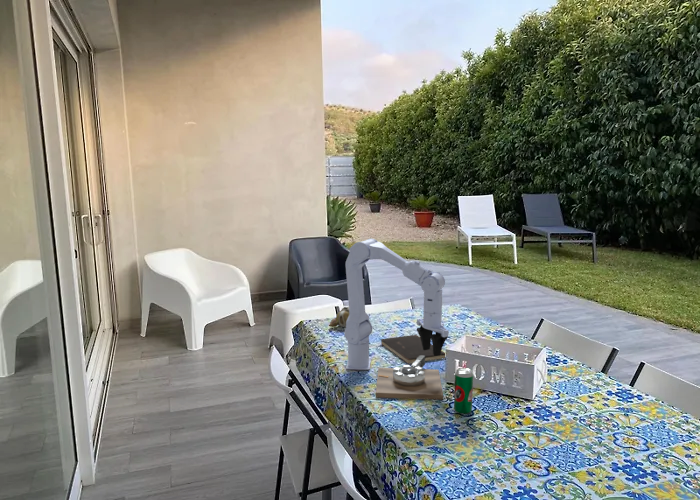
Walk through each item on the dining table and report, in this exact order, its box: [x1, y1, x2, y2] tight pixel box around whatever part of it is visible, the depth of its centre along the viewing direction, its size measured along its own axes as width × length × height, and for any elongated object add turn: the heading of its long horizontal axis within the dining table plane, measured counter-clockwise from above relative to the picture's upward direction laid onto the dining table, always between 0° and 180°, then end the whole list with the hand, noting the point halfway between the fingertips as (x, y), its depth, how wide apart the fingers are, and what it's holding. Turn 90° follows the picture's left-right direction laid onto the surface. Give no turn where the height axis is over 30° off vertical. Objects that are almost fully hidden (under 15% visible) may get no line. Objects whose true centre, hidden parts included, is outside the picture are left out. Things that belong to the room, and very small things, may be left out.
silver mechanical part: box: [393, 355, 426, 386], centre depth 181 cm, size 19×10×4 cm, turn 155°
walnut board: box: [375, 367, 444, 401], centre depth 177 cm, size 20×20×2 cm
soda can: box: [453, 367, 474, 415], centre depth 158 cm, size 5×5×12 cm
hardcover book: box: [379, 334, 446, 365], centre depth 209 cm, size 16×23×2 cm
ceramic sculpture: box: [328, 306, 350, 328], centre depth 238 cm, size 11×9×15 cm
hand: (431, 352), depth 180 cm, fingers open, 5 cm apart
